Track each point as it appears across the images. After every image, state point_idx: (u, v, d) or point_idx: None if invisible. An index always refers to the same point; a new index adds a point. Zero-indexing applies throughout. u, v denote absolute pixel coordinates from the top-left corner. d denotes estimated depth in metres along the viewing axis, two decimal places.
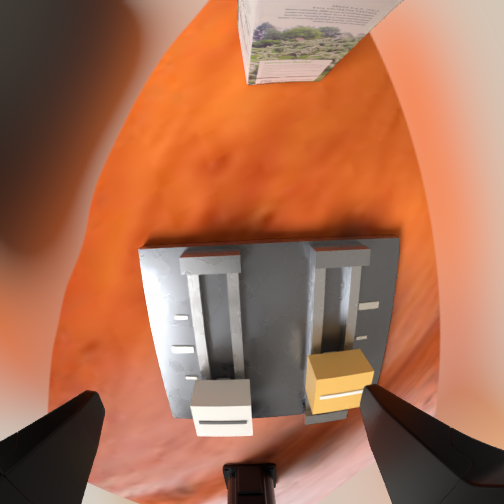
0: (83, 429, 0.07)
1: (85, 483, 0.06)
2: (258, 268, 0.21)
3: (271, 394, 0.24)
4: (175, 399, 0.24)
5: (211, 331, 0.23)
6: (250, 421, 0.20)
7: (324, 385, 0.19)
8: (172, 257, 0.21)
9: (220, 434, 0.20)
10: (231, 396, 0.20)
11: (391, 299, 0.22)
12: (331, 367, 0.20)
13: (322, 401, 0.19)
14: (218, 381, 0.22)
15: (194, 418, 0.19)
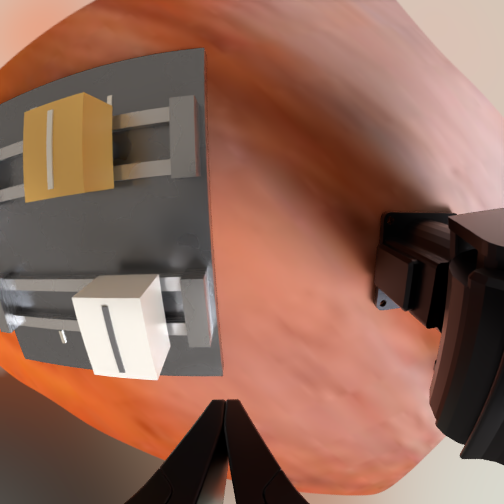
0: (224, 444, 0.07)
1: None
2: (8, 256, 0.16)
3: (154, 233, 0.16)
4: (182, 368, 0.18)
5: (68, 309, 0.17)
6: (103, 300, 0.12)
7: (33, 187, 0.10)
8: (20, 332, 0.17)
9: (145, 348, 0.12)
10: None
11: (32, 92, 0.13)
12: None
13: (58, 182, 0.10)
14: None
15: (116, 375, 0.13)
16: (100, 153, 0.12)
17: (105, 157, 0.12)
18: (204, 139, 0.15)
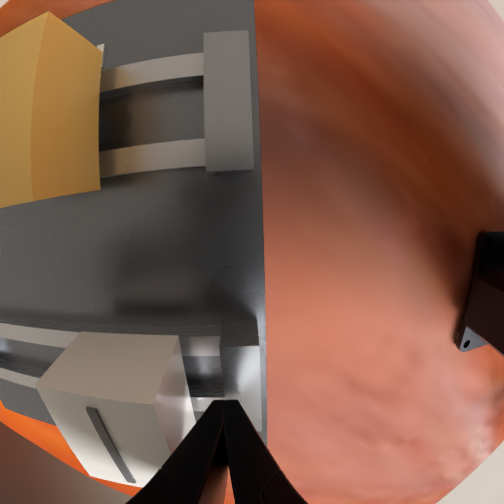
0: (225, 444, 0.07)
1: None
2: None
3: (170, 265, 0.10)
4: None
5: (48, 363, 0.11)
6: (87, 398, 0.06)
7: None
8: None
9: None
10: None
11: None
12: None
13: None
14: None
15: (122, 482, 0.07)
16: (73, 125, 0.06)
17: (84, 133, 0.06)
18: (257, 109, 0.09)
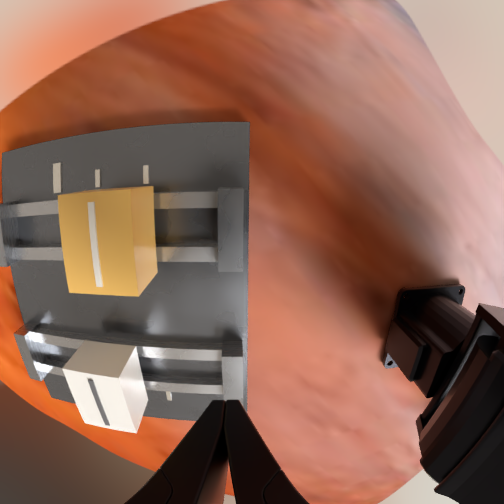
0: (224, 444, 0.07)
1: None
2: (35, 309, 0.17)
3: (193, 309, 0.17)
4: None
5: None
6: (89, 375, 0.13)
7: (77, 280, 0.11)
8: (47, 376, 0.18)
9: (125, 411, 0.13)
10: None
11: (54, 143, 0.14)
12: None
13: (108, 281, 0.11)
14: None
15: (102, 426, 0.14)
16: (147, 245, 0.13)
17: (150, 246, 0.14)
18: (247, 225, 0.16)
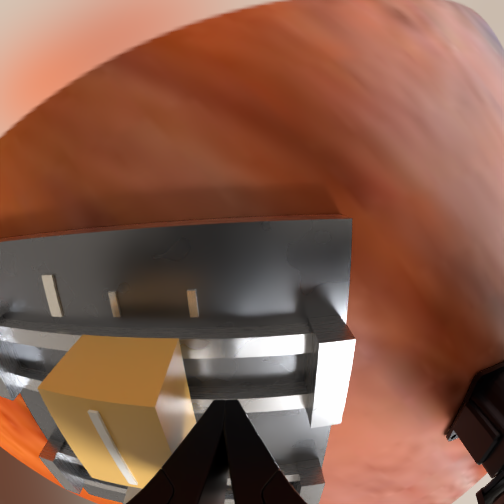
0: None
1: None
2: (58, 430, 0.12)
3: (265, 442, 0.12)
4: None
5: None
6: None
7: (100, 472, 0.07)
8: None
9: None
10: None
11: (36, 244, 0.09)
12: None
13: (144, 481, 0.07)
14: None
15: None
16: (185, 427, 0.08)
17: (188, 419, 0.09)
18: None
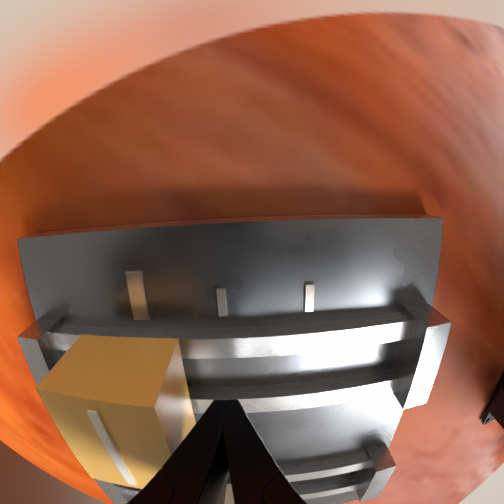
0: None
1: None
2: None
3: (345, 432, 0.12)
4: (330, 502, 0.14)
5: None
6: None
7: (99, 472, 0.07)
8: None
9: None
10: None
11: (121, 236, 0.09)
12: None
13: (143, 481, 0.07)
14: None
15: None
16: (184, 427, 0.08)
17: (188, 419, 0.09)
18: None
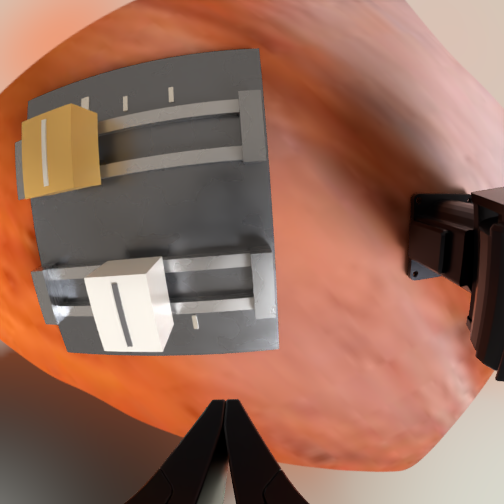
0: (224, 444, 0.07)
1: None
2: (55, 246, 0.17)
3: (219, 215, 0.18)
4: (241, 344, 0.20)
5: None
6: (113, 278, 0.13)
7: (31, 185, 0.12)
8: (64, 324, 0.19)
9: (150, 321, 0.14)
10: None
11: (82, 82, 0.15)
12: None
13: (52, 179, 0.12)
14: None
15: (124, 350, 0.14)
16: (87, 154, 0.14)
17: (92, 158, 0.14)
18: (265, 129, 0.16)
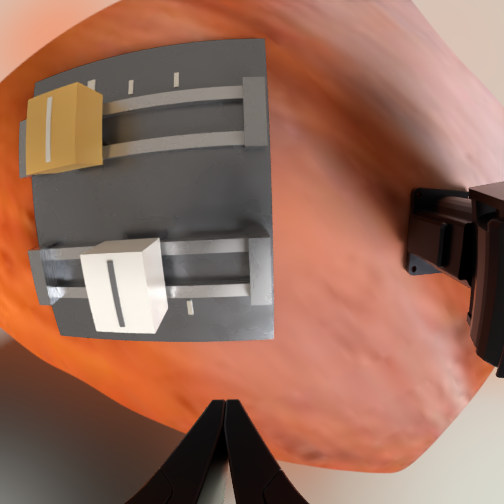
0: (224, 444, 0.07)
1: None
2: (53, 226, 0.17)
3: (219, 199, 0.17)
4: (235, 332, 0.20)
5: None
6: (109, 255, 0.13)
7: (33, 161, 0.12)
8: (58, 306, 0.19)
9: (144, 300, 0.14)
10: None
11: (89, 66, 0.15)
12: None
13: (54, 155, 0.12)
14: None
15: (116, 330, 0.14)
16: (91, 133, 0.13)
17: (95, 137, 0.14)
18: (267, 116, 0.16)
